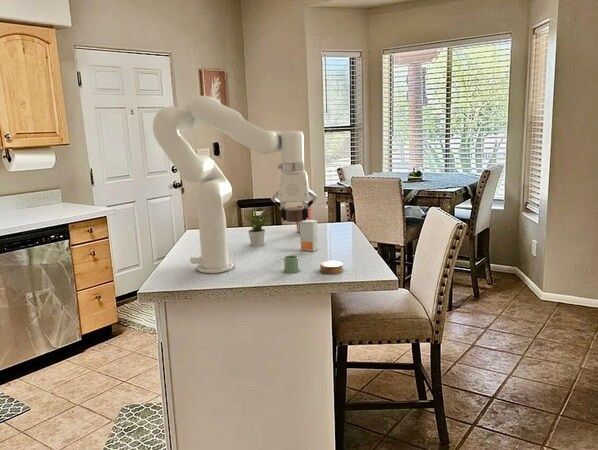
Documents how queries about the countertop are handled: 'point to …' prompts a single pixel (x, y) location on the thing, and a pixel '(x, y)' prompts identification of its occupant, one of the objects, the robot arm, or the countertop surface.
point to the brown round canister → (294, 214)
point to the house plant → (257, 228)
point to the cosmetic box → (308, 235)
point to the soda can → (307, 218)
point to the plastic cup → (291, 264)
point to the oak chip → (331, 267)
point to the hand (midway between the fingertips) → (294, 219)
